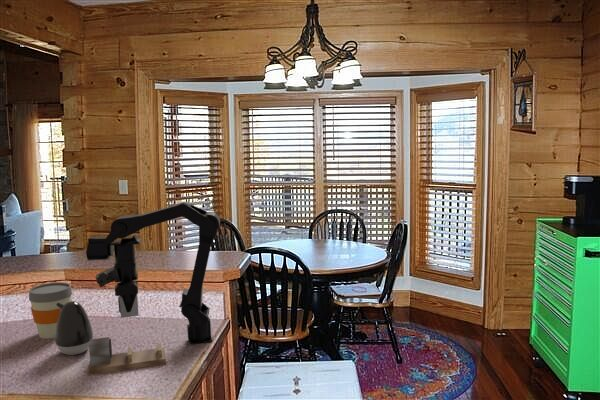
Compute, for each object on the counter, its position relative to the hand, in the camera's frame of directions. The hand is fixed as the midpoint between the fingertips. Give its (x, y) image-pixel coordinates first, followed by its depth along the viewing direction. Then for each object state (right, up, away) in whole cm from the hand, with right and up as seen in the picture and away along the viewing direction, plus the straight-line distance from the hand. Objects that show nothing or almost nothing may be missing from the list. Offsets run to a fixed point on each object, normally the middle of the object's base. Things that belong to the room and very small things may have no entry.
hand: (128, 309), depth 161 cm
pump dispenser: (-15, -12, -3) cm, 19 cm away
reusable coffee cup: (-28, -10, +12) cm, 32 cm away
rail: (+4, -12, -12) cm, 18 cm away
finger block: (0, -2, 0) cm, 2 cm away
